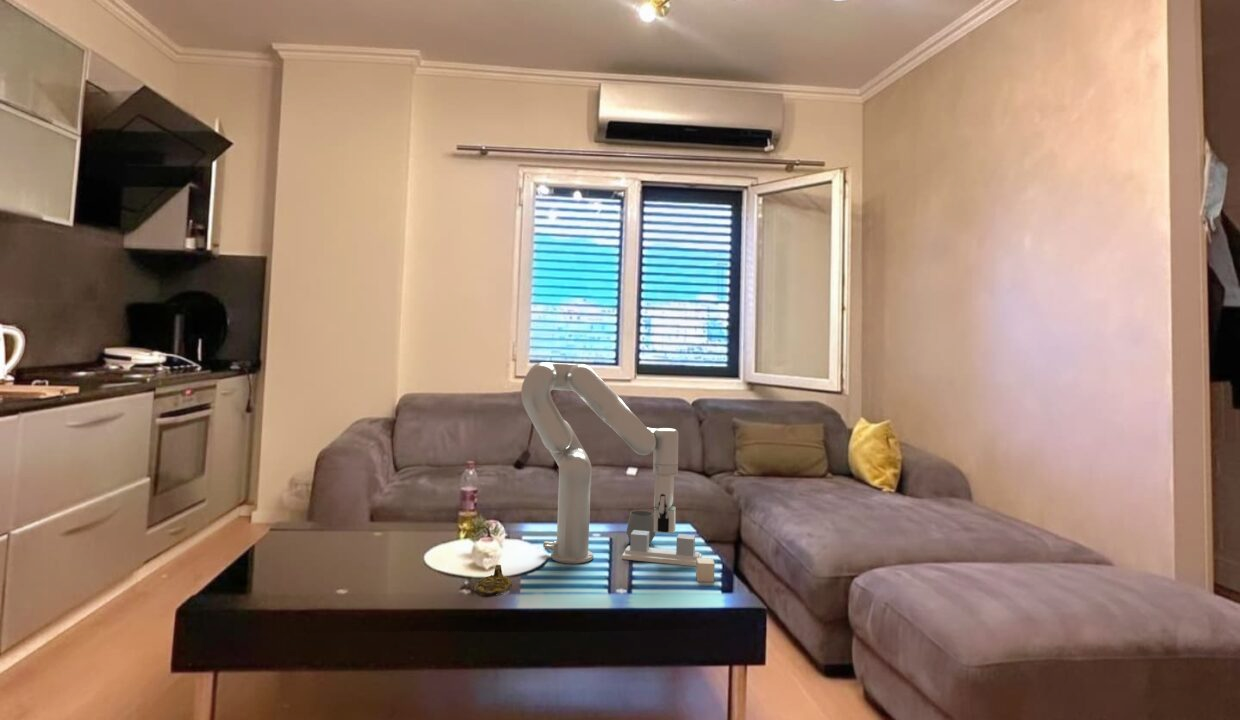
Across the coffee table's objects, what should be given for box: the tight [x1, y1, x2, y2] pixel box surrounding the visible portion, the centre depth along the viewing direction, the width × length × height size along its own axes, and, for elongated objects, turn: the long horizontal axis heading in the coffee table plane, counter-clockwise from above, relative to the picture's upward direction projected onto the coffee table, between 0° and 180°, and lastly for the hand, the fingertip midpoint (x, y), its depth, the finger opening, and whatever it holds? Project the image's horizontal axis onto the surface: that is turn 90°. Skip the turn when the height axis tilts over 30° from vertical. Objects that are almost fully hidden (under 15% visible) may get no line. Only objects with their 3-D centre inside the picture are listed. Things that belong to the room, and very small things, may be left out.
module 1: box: [653, 505, 677, 534], centre depth 205 cm, size 6×4×7 cm
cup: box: [626, 510, 656, 545], centre depth 220 cm, size 10×9×10 cm
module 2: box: [695, 557, 716, 583], centre depth 187 cm, size 4×5×5 cm
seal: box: [473, 564, 513, 597], centre depth 175 cm, size 9×5×15 cm
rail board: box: [621, 530, 703, 567], centre depth 205 cm, size 23×9×7 cm, turn 79°
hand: (664, 528), depth 205 cm, fingers closed on module 1, 4 cm apart
